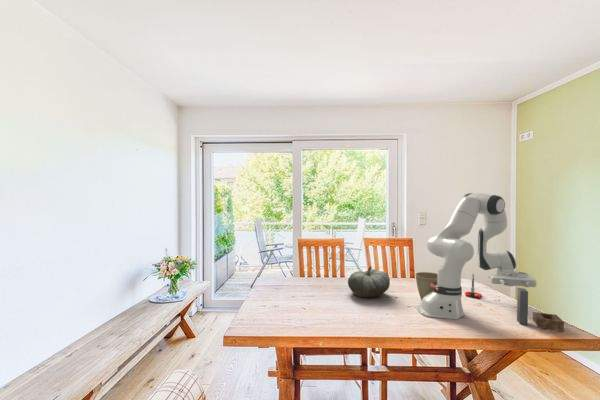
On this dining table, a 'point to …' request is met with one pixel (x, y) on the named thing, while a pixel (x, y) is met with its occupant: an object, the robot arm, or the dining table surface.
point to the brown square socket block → (548, 321)
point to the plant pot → (425, 283)
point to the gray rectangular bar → (522, 306)
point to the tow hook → (472, 293)
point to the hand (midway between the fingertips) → (516, 284)
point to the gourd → (369, 283)
